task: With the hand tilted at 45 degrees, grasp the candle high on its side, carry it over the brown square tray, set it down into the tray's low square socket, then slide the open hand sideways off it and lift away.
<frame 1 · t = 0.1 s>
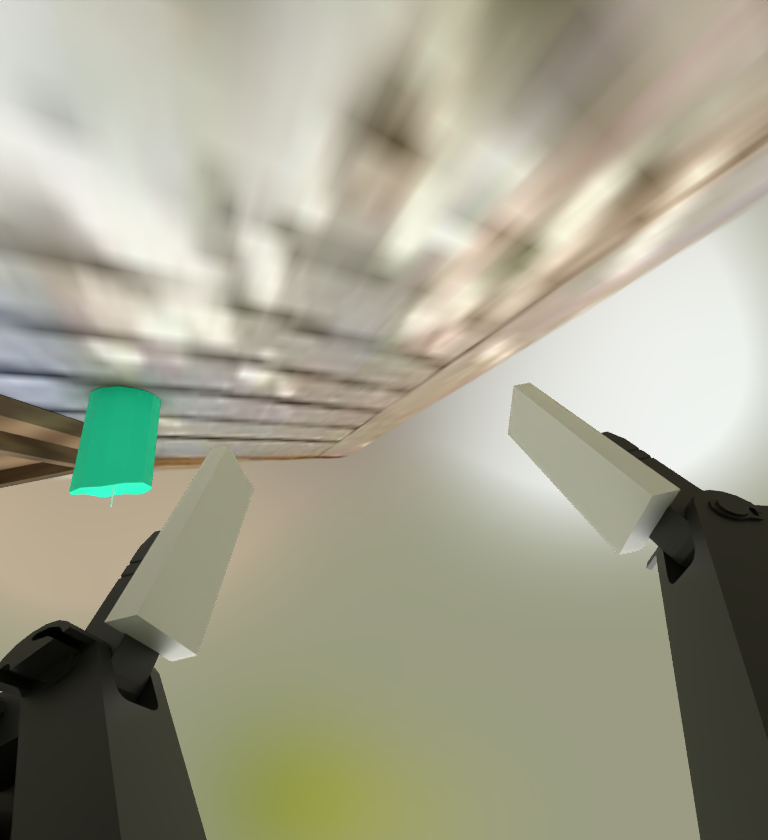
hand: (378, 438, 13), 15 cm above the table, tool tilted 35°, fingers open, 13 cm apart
candle: (127, 397, 32), on the table
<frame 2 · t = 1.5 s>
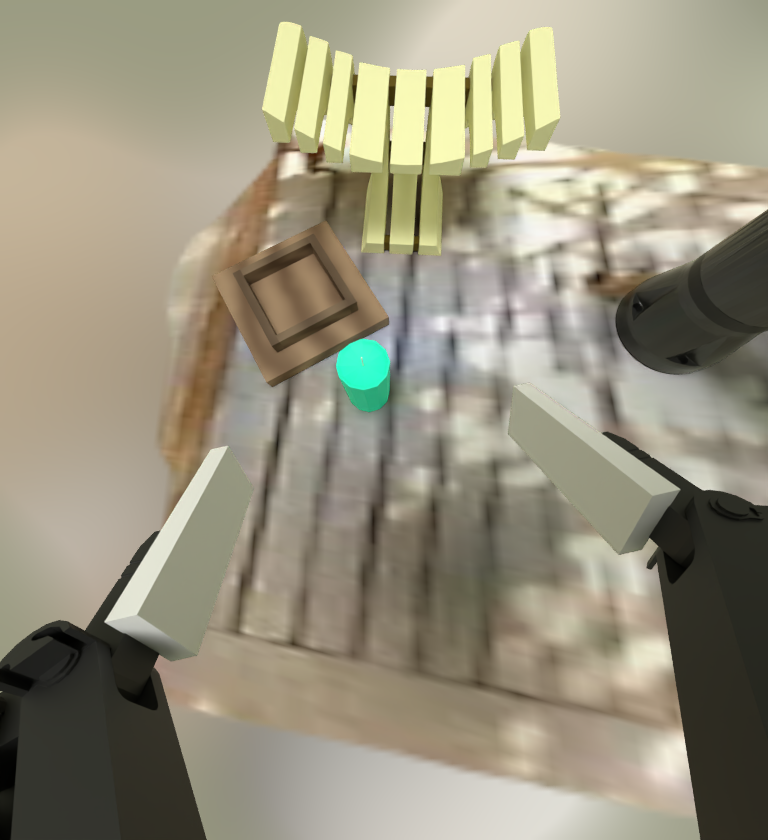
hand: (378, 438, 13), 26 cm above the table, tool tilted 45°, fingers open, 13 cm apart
candle: (369, 392, 41), on the table
brown square tray: (302, 304, 43), on the table
slatted curved stool: (403, 214, 47), on the table
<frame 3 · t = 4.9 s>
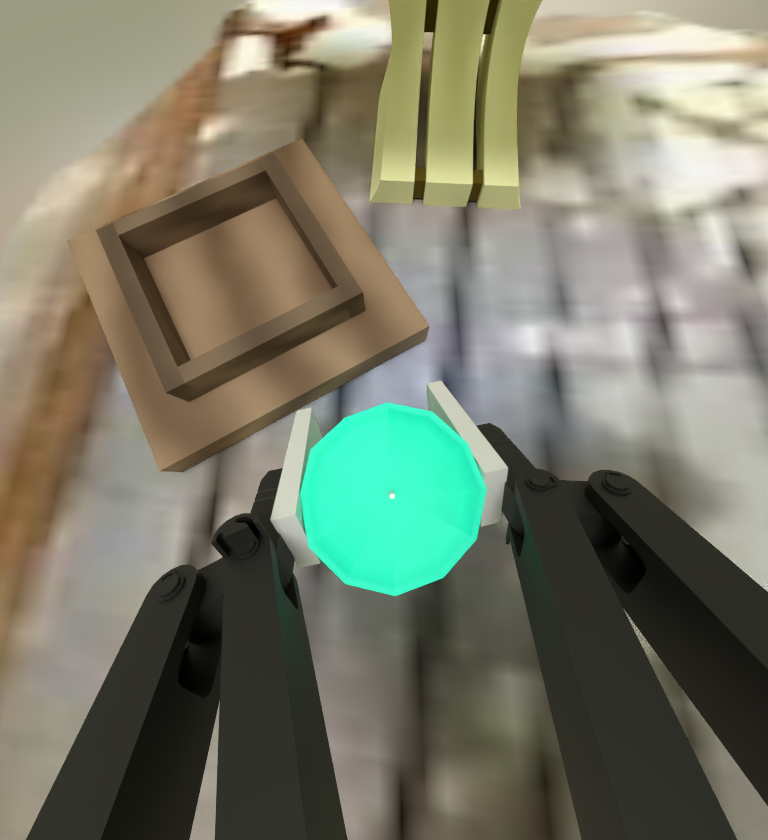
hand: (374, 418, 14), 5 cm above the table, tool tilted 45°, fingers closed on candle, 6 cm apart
candle: (387, 484, 19), on the table, touching gripper
brown square tray: (253, 298, 22), on the table
slatted curved stool: (445, 138, 26), on the table
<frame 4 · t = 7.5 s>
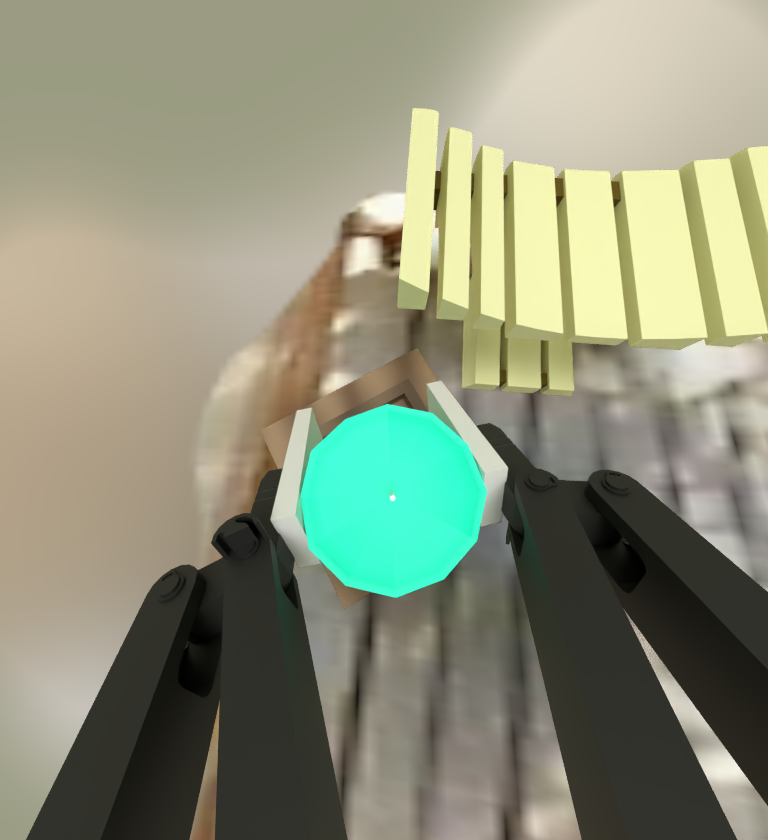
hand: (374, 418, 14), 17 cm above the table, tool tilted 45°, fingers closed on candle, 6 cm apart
candle: (388, 485, 19), point 12 cm above the table, touching gripper
brown square tray: (384, 466, 31), on the table
slatted curved stool: (514, 332, 35), on the table
when the fingers open (8 cm above the table, at t = 10.2 s): candle stays where it is, resting on brown square tray.
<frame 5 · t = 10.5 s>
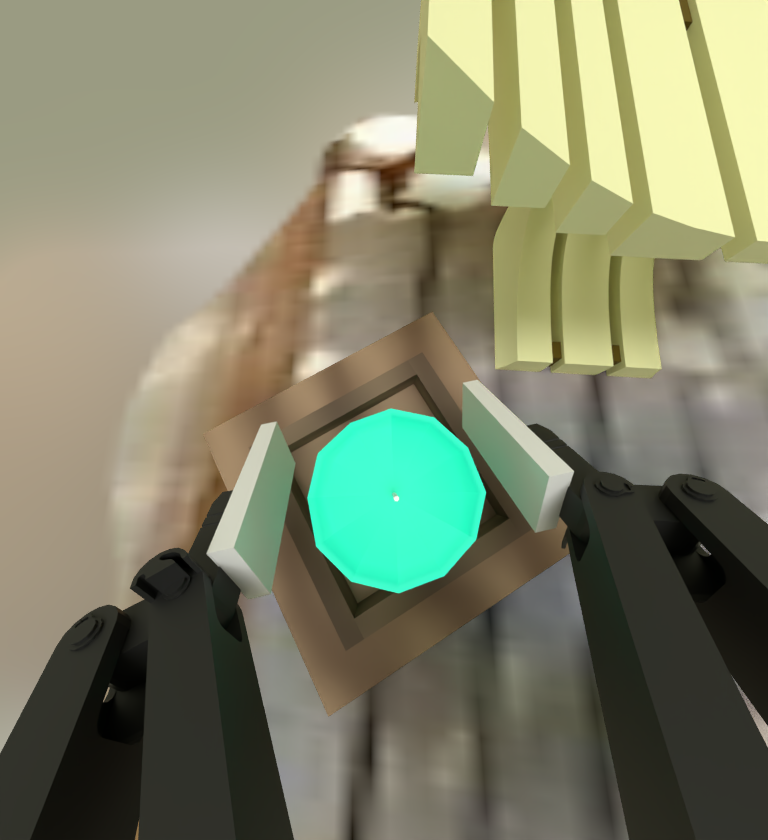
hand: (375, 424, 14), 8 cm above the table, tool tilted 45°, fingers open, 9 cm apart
candle: (389, 485, 20), point 2 cm above the table, touching brown square tray
brown square tray: (387, 484, 21), on the table
slatted curved stool: (564, 292, 25), on the table
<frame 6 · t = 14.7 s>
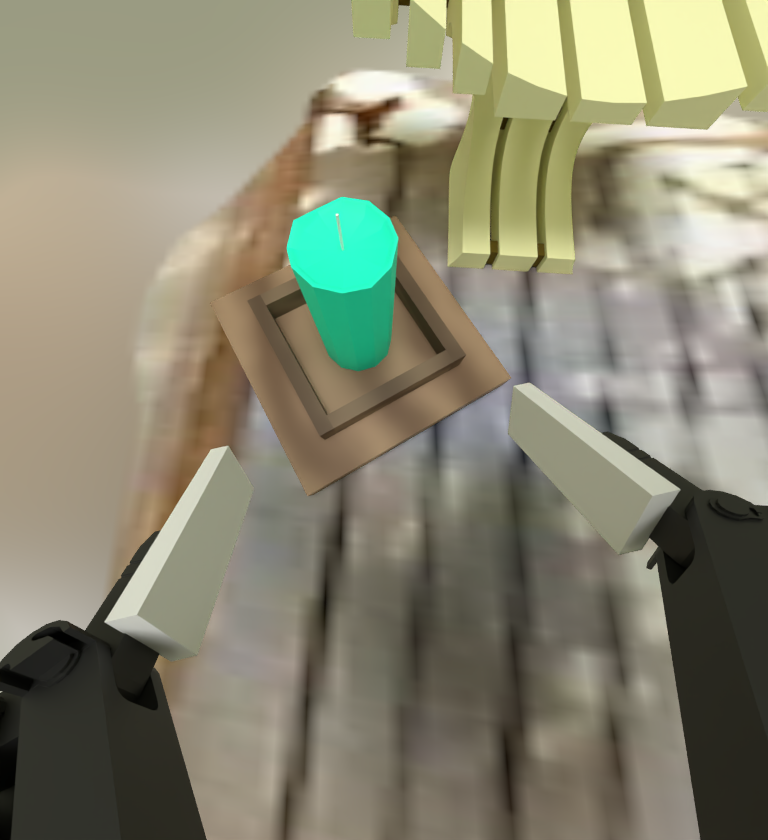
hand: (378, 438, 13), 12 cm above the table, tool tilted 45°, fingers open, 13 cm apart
candle: (358, 341, 25), point 2 cm above the table, touching brown square tray
brown square tray: (358, 349, 27), on the table
slatted curved stool: (506, 210, 31), on the table
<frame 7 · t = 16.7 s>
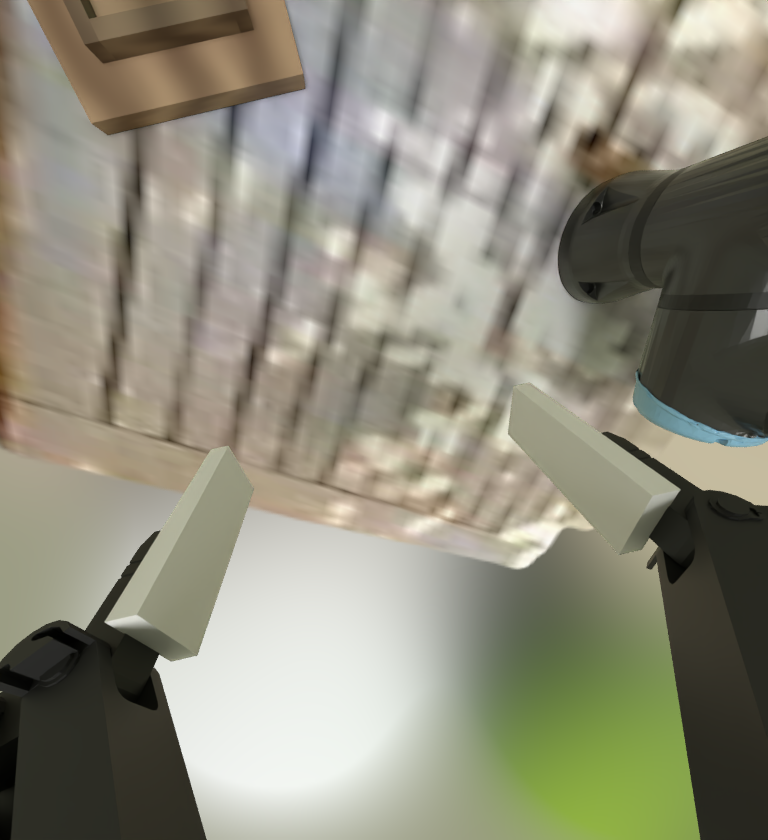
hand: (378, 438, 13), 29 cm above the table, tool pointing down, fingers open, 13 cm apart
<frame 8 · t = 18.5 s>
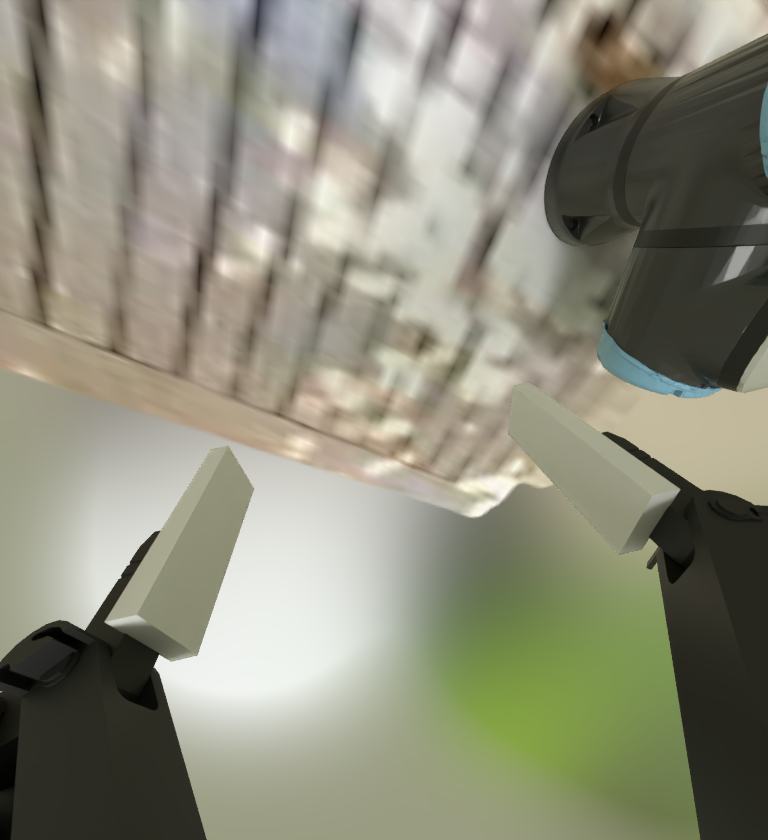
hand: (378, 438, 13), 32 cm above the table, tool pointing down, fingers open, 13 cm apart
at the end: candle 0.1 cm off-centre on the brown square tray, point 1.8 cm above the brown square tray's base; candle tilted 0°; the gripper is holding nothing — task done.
